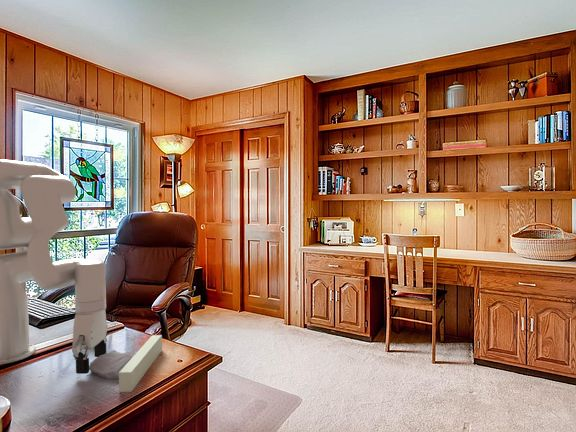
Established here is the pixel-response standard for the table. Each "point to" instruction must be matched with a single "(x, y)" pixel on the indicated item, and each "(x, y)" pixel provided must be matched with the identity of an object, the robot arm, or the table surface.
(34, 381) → the table surface
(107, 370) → the grey rock
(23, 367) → the table surface
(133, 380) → the board
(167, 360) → the table surface
